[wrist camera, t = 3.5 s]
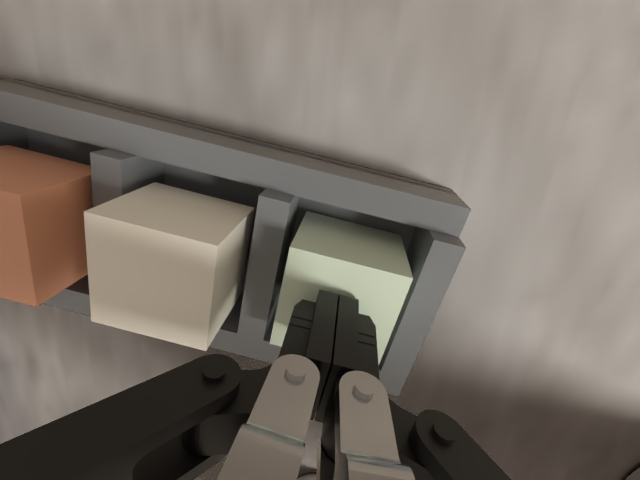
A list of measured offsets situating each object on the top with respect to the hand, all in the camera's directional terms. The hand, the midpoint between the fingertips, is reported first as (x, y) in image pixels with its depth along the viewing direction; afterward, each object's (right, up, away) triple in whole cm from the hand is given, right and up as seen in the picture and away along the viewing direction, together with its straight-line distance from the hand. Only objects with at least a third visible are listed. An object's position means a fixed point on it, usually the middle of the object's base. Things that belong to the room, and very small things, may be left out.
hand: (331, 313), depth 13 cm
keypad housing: (-6, +4, +5) cm, 8 cm away
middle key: (-6, +3, +3) cm, 7 cm away
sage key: (+1, +2, +4) cm, 4 cm away
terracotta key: (-12, +4, +3) cm, 13 cm away
